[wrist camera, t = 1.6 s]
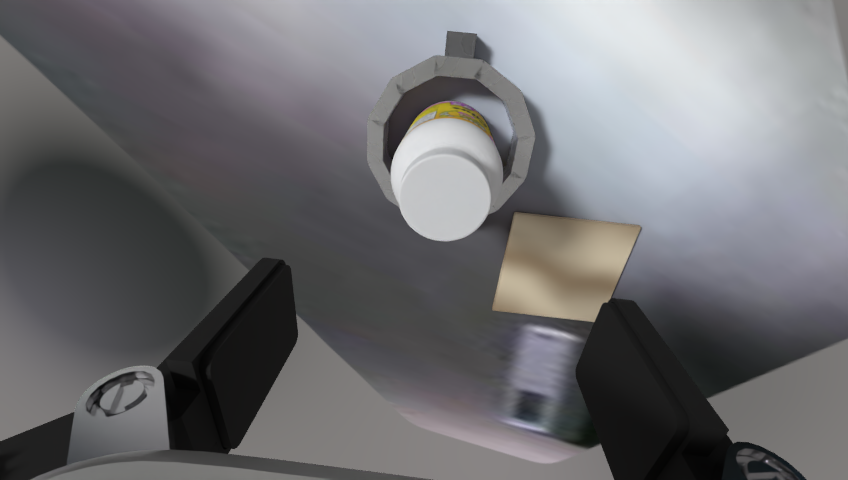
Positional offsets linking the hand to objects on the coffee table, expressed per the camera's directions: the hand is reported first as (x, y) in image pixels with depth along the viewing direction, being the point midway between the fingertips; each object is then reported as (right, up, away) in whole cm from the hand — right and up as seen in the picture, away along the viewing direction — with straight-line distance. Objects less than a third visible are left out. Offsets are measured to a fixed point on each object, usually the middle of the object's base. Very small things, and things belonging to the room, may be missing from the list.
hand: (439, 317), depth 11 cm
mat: (+13, 0, +23) cm, 26 cm away
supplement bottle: (+2, +11, +18) cm, 21 cm away
